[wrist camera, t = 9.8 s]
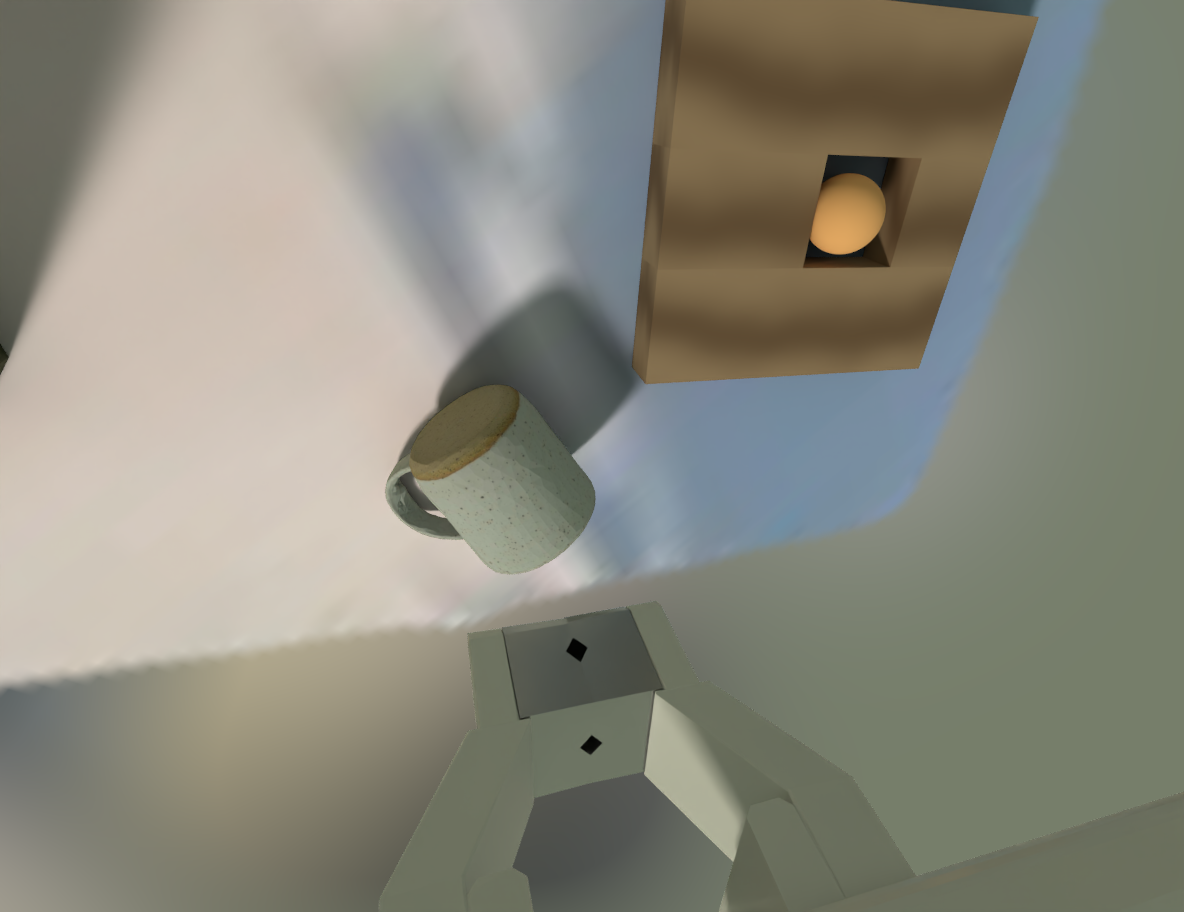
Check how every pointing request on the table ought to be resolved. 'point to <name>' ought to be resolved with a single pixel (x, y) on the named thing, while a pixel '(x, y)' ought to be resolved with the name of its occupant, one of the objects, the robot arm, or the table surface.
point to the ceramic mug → (495, 481)
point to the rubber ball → (847, 213)
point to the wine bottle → (2, 358)
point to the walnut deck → (811, 179)
